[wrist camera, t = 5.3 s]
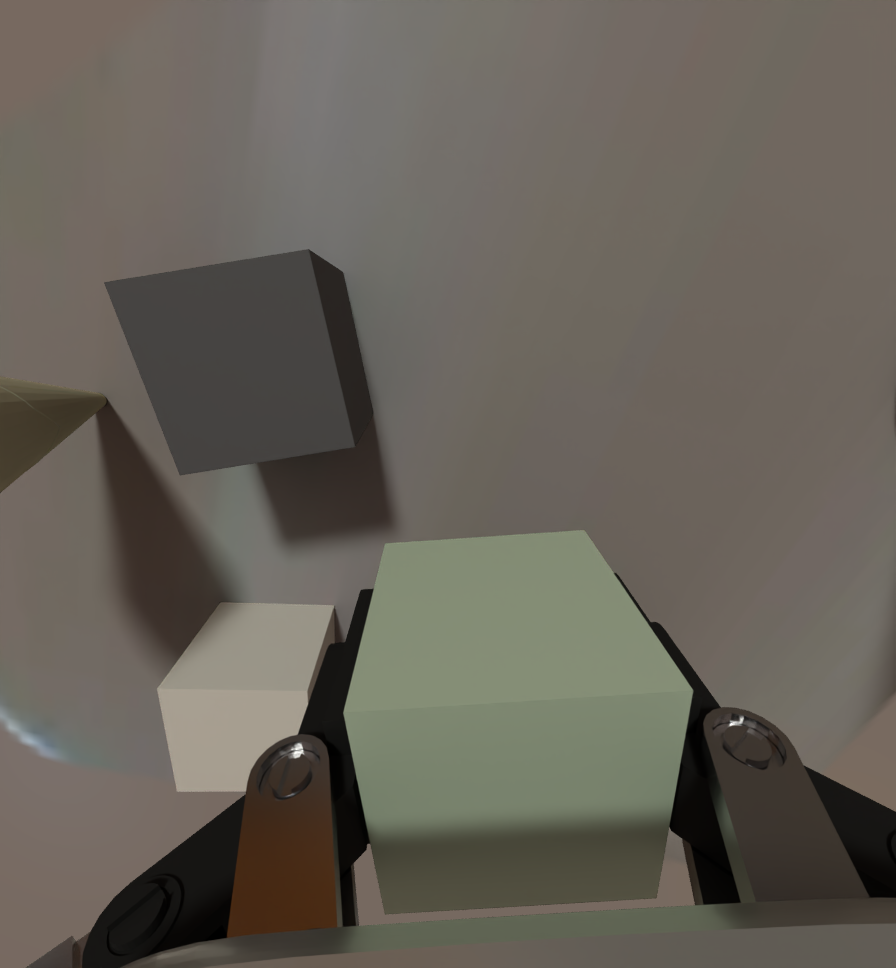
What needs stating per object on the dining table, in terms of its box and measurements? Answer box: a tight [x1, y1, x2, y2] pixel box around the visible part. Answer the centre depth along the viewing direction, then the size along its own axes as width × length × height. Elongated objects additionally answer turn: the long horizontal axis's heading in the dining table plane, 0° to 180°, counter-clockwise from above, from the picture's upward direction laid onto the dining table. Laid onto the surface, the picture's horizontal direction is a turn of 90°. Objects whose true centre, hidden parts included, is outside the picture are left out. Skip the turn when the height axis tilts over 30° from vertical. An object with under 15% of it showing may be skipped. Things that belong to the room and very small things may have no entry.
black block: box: [104, 249, 373, 475], centre depth 14 cm, size 5×5×5 cm
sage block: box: [343, 530, 693, 914], centre depth 9 cm, size 5×5×5 cm
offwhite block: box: [157, 602, 335, 792], centre depth 18 cm, size 5×5×5 cm
